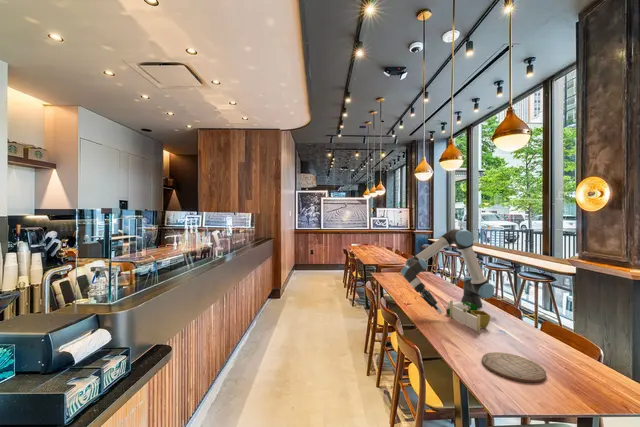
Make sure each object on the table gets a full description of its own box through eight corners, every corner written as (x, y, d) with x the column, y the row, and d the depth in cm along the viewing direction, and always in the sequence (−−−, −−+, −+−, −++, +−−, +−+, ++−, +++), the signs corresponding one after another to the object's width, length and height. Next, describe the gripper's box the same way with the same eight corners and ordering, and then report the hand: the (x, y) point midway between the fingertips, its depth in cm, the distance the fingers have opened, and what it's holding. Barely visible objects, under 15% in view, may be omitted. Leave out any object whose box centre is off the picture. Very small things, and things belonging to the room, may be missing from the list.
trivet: (516, 388, 120) (516, 383, 120) (470, 359, 144) (470, 355, 144) (560, 379, 127) (560, 374, 127) (509, 353, 151) (509, 349, 151)
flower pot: (484, 324, 191) (484, 310, 191) (490, 329, 182) (490, 315, 182) (470, 323, 191) (470, 310, 192) (475, 328, 183) (475, 314, 183)
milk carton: (472, 313, 213) (444, 313, 213) (471, 301, 214) (444, 301, 214) (478, 317, 204) (450, 316, 204) (478, 304, 205) (449, 303, 205)
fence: (449, 317, 203) (449, 300, 203) (453, 317, 203) (453, 300, 203) (478, 333, 175) (478, 314, 175) (482, 333, 175) (482, 313, 176)
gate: (452, 317, 200) (452, 303, 200) (454, 317, 200) (454, 303, 200) (464, 324, 187) (464, 309, 187) (466, 324, 187) (466, 309, 188)
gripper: (417, 286, 217) (440, 313, 206) (410, 290, 206) (434, 318, 196) (424, 280, 213) (448, 307, 203) (417, 283, 203) (442, 312, 192)
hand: (441, 313), depth 199 cm, fingers closed
